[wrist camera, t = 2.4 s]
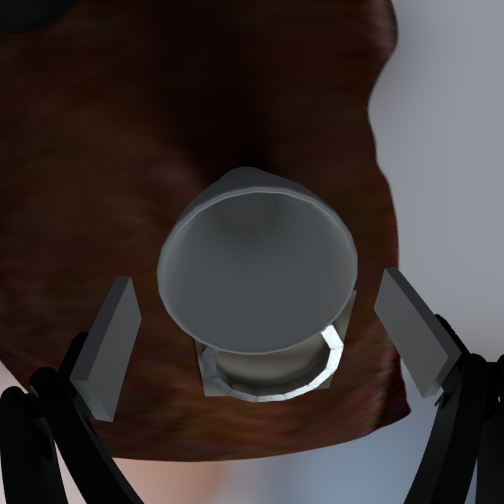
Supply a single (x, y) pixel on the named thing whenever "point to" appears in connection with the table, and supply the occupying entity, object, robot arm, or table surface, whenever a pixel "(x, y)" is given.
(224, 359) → the board
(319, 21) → the table surface
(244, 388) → the ring collar
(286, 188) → the cup
